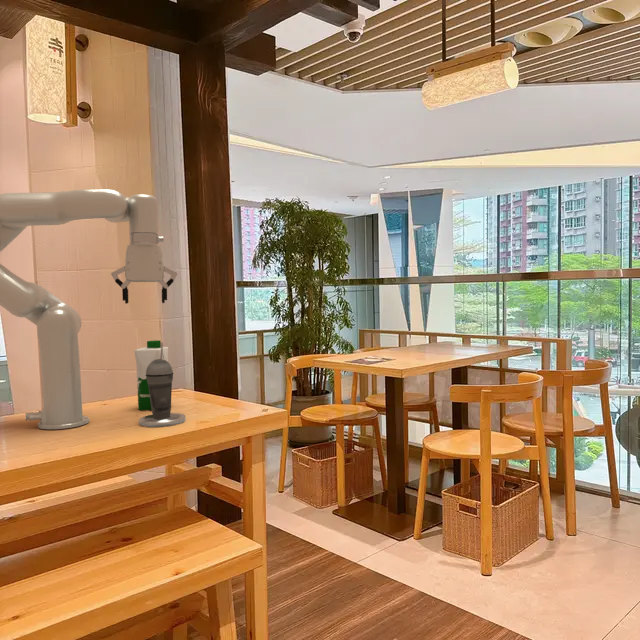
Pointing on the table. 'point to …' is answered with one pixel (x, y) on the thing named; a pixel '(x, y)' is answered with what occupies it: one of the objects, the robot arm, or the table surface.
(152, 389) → the beverage cup
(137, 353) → the milk carton
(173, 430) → the table surface
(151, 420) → the flange plate
